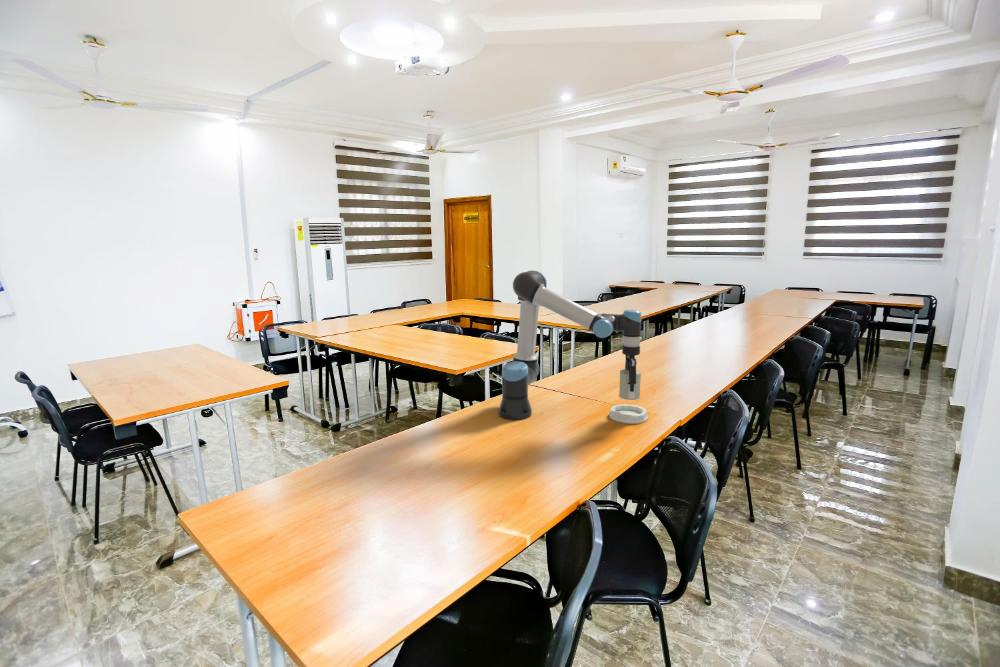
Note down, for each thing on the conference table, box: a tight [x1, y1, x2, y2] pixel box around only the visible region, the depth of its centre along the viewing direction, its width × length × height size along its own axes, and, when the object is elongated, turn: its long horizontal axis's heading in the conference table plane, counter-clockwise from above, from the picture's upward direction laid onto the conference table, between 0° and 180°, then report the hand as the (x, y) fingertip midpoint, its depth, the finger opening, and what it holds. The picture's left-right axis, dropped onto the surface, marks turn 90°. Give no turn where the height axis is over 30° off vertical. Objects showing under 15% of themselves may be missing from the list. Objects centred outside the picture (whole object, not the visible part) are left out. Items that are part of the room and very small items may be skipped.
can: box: [618, 368, 642, 401], centre depth 219 cm, size 9×9×12 cm
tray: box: [608, 403, 649, 425], centre depth 222 cm, size 17×17×3 cm
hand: (629, 394), depth 220 cm, fingers closed on can, 9 cm apart
